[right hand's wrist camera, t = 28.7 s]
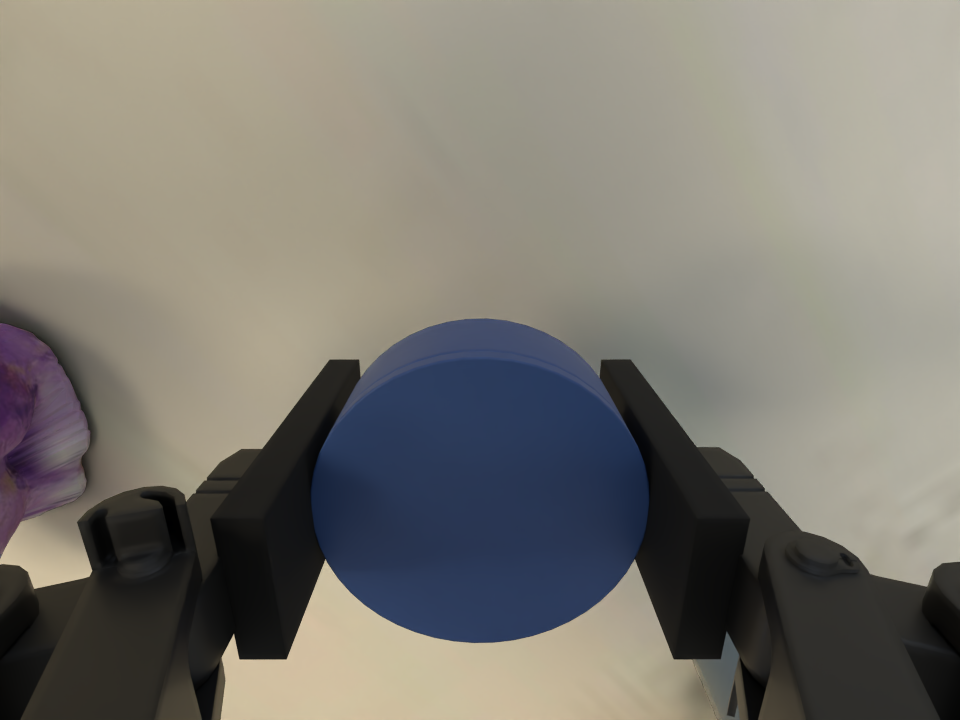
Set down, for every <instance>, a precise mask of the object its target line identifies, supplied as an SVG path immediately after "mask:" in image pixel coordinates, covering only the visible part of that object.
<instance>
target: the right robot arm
mask: <svg viewBox="0 0 960 720" xmlns="http://www.w3.org/2000/svg"><path fill="white" fill-rule="evenodd" d="M360 378H361V377H360V365H359V360H329V361H328V363H327V364H326V365H325V367H324V368H323V369H322V371H321V372H320V373H319V375H318V376H317V377H316V379H315V380H314V381H313V382H312V384H311V385H310V386H309V388H308V389H307V390H306V392H305V393H304V394H303V396H302V397H301V398H300V400H299V401H298V402H297V404H296V405H295V406H294V408H293V409H292V410H291V412H290V413H289V414H288V416H287V417H286V418H285V420H284V421H283V422H282V424H281V425H280V426H279V428H278V429H277V430H276V432H275V433H274V434H273V436H272V437H271V438H270V440H269V441H268V442H267V444H266V445H265V446H264V448H263V449H241V450H239V451H238V452H236V453H234V454H233V455H231V456H230V457H228V458H226V459H225V460H223V461H222V462H220V463H219V464H218V466H217V467H216V468H215V469H214V470H213V471H212V472H211V474H210V475H209V476H208V477H207V481H204V482H203V483H202V484H201V485H200V486H199V488H198V489H197V490H196V494H193V495H192V496H191V497H190V498H189V499H188V500H187V502H186V500H185V495H184V494H183V493H181V492H180V491H179V490H178V489H176V488H171V487H165V486H154V487H143V488H138V489H134V490H130V491H126V492H123V493H120V494H118V495H116V496H113V497H111V498H108V499H106V500H104V501H102V502H101V503H99V504H97V505H96V506H94V507H93V508H91V509H90V510H88V511H87V512H86V513H85V514H84V515H83V516H82V517H81V519H80V520H79V521H78V522H77V523H78V526H79V530H80V533H81V536H82V539H83V542H84V545H85V549H86V552H87V555H88V558H89V561H90V564H91V568H92V573H91V575H90V577H87V578H84V579H79V580H75V581H70V582H65V583H61V584H56V585H51V586H46V587H42V588H37V589H34V588H33V585H32V583H31V580H30V577H29V574H28V572H27V571H25V570H24V569H23V568H21V567H20V566H16V565H5V564H2V565H0V720H220V719H221V711H222V703H223V695H224V687H225V674H224V667H223V663H222V658H221V657H222V655H223V653H224V651H225V650H226V648H227V646H228V644H229V642H230V640H231V638H232V636H233V634H234V635H235V640H236V645H237V649H238V654H239V659H287V657H288V654H289V652H290V649H291V646H292V644H293V641H294V639H295V636H296V633H297V631H298V628H299V626H300V623H301V621H302V618H303V615H304V613H305V610H306V608H307V605H308V603H309V600H310V597H311V595H312V592H313V590H314V587H315V584H316V582H317V579H318V577H319V574H320V572H321V569H322V566H323V564H324V561H325V557H324V555H323V552H322V550H321V548H320V546H319V543H318V540H317V537H316V534H315V529H314V522H313V514H312V506H311V484H312V478H313V471H314V468H315V465H316V462H317V459H318V456H319V453H320V451H321V449H322V447H323V445H324V443H325V441H326V439H327V437H328V435H329V433H330V431H331V429H332V428H333V426H334V424H335V422H336V420H337V418H338V417H339V415H340V413H341V411H342V409H343V408H344V406H345V404H346V402H347V400H348V399H349V397H350V395H351V393H352V391H353V390H354V388H355V386H356V384H357V383H358V381H359V380H360ZM600 379H601V381H602V383H603V384H604V386H605V388H606V390H607V391H608V393H609V395H610V397H611V399H612V400H613V402H614V404H615V406H616V408H617V409H618V411H619V413H620V415H621V417H622V418H623V420H624V422H625V424H626V426H627V428H628V429H629V431H630V433H631V435H632V437H633V438H634V440H635V442H636V444H637V446H638V448H639V451H640V453H641V456H642V459H643V461H644V464H645V468H646V472H647V477H648V482H649V495H650V501H649V509H648V517H647V524H646V531H645V534H644V538H643V541H642V544H641V546H640V548H639V551H638V553H637V555H636V557H635V560H636V563H637V566H638V568H639V571H640V573H641V576H642V578H643V581H644V584H645V586H646V589H647V591H648V594H649V596H650V599H651V602H652V604H653V607H654V609H655V612H656V615H657V617H658V620H659V622H660V625H661V627H662V630H663V633H664V635H665V638H666V640H667V643H668V645H669V648H670V651H671V653H672V656H673V658H674V659H721V656H722V651H723V646H724V642H725V637H726V632H727V633H728V635H729V636H730V638H731V640H732V642H733V644H734V646H735V648H736V650H737V652H738V654H739V658H738V663H737V667H736V672H735V676H734V680H733V685H732V689H731V694H730V698H729V703H728V710H727V715H728V716H732V717H735V713H736V709H737V705H738V709H739V717H740V720H960V562H953V563H942V564H941V565H940V566H938V567H937V568H935V569H934V570H933V573H932V576H931V578H930V581H929V584H928V587H925V586H921V585H916V584H911V583H907V582H902V581H897V580H892V579H888V578H883V577H878V576H875V575H871V574H869V572H868V570H867V569H866V567H865V566H864V565H863V563H862V562H861V561H860V560H859V558H858V557H856V556H855V555H854V554H852V553H851V552H850V551H848V550H847V549H846V548H844V547H843V546H841V545H839V544H837V543H835V542H833V541H831V540H829V539H827V538H824V537H821V536H818V535H814V534H811V533H807V532H802V531H801V530H800V529H799V527H798V526H797V525H796V524H795V523H794V522H793V521H792V519H791V518H790V517H789V516H788V515H787V514H786V512H785V511H784V510H783V509H782V508H781V507H780V506H779V504H778V503H777V502H776V501H775V500H774V499H773V497H772V496H771V495H770V494H769V493H768V492H765V488H764V487H763V486H762V485H761V484H760V482H759V481H758V480H757V479H754V476H753V474H752V473H751V472H750V471H749V470H748V469H747V467H746V466H745V465H744V464H743V463H742V462H741V461H740V460H739V459H737V458H736V457H734V456H732V455H731V454H729V453H727V452H726V451H724V450H723V449H721V448H719V447H696V446H695V444H694V443H693V442H692V440H691V439H690V438H689V436H688V435H687V434H686V432H685V431H684V430H683V428H682V427H681V426H680V424H679V423H678V422H677V420H676V419H675V418H674V417H673V415H672V414H671V413H670V411H669V410H668V409H667V407H666V406H665V405H664V403H663V402H662V401H661V399H660V398H659V397H658V395H657V394H656V393H655V391H654V390H653V389H652V387H651V386H650V385H649V383H648V382H647V381H646V379H645V378H644V377H643V375H642V374H641V373H640V371H639V370H638V369H637V367H636V366H635V365H634V363H633V362H632V361H631V360H601V369H600Z"/></svg>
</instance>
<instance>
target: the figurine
mask: <svg viewBox="0 0 960 720" xmlns="http://www.w3.org/2000/svg"><path fill="white" fill-rule="evenodd" d="M89 443H90V431H89V430H88V424H87V420H86V417H85V414H84V412H83V411H82V410H81V406H80V402H79V400H78V399H77V397H76V394H75V392H74V389H73V387H72V384H71V382H70V380H69V378H68V377H67V376H66V374H65V372H64V370H63V368H62V366H61V365H60V364H58V359H57V358H56V356H55V355H54V353H53V352H52V350H51V349H50V347H49V346H47V345H46V344H45V343H44V342H42V341H40V340H39V339H38V338H37V337H36V336H35V335H34V334H33V333H32V332H29V331H26V330H23V329H20V328H17V327H14V326H11V325H8V324H3V323H0V558H1V556H2V554H3V551H4V549H5V547H6V546H7V544H8V542H9V540H10V538H11V537H12V535H13V534H14V532H15V531H16V529H17V527H18V525H19V523H20V522H21V521H24V520H28V519H31V518H34V517H36V516H40V515H41V514H43V513H44V512H46V511H48V510H51V509H54V508H56V507H59V506H62V505H64V504H67V503H69V502H73V501H75V500H76V499H77V498H78V497H79V496H81V495H82V493H83V492H84V491H85V488H86V482H87V480H86V478H85V475H84V468H83V466H82V464H81V458H82V456H83V455H84V453H85V452H86V451H87V449H88V447H89Z"/></svg>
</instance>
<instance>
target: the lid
mask: <svg viewBox="0 0 960 720" xmlns="http://www.w3.org/2000/svg"><path fill="white" fill-rule="evenodd" d="M649 501H650V495H649V482H648V477H647V472H646V468H645V464H644V461H643V459H642V456H641V453H640V451H639V448H638V446H637V444H636V442H635V440H634V438H633V437H632V435H631V433H630V431H629V429H628V428H627V426H626V424H625V422H624V420H623V418H622V417H621V415H620V413H619V411H618V409H617V408H616V406H615V404H614V402H613V400H612V399H611V397H610V395H609V393H608V391H607V390H606V388H605V386H604V384H603V383H602V381H601V379H600V378H599V376H598V375H597V374H596V373H595V371H594V370H593V369H592V368H591V366H590V365H589V364H588V363H587V362H586V361H585V360H584V359H583V358H582V357H581V356H580V355H579V354H578V353H576V352H575V351H574V350H572V349H571V348H570V347H568V346H567V345H566V344H564V343H563V342H561V341H560V340H558V339H556V338H554V337H552V336H550V335H548V334H547V333H545V332H542V331H540V330H537V329H534V328H532V327H529V326H526V325H523V324H518V323H514V322H510V321H505V320H495V319H464V320H457V321H450V322H445V323H442V324H438V325H435V326H431V327H428V328H425V329H423V330H421V331H418V332H416V333H414V334H411V335H409V336H408V337H406V338H404V339H403V340H401V341H399V342H398V343H396V344H394V345H393V346H392V347H390V348H389V349H388V350H387V351H385V352H384V353H383V354H382V355H380V356H379V357H378V358H377V359H376V360H375V361H374V362H373V363H372V365H371V366H370V367H369V368H368V369H367V370H366V371H365V373H364V374H363V376H362V377H361V378H360V380H359V381H358V383H357V384H356V386H355V388H354V390H353V391H352V393H351V395H350V397H349V399H348V400H347V402H346V404H345V406H344V408H343V409H342V411H341V413H340V415H339V417H338V418H337V420H336V422H335V424H334V426H333V428H332V429H331V431H330V433H329V435H328V437H327V439H326V441H325V443H324V445H323V447H322V449H321V451H320V453H319V456H318V459H317V462H316V465H315V468H314V471H313V478H312V484H311V506H312V514H313V522H314V529H315V534H316V537H317V540H318V543H319V546H320V548H321V550H322V552H323V555H324V557H325V559H326V561H327V563H328V564H329V566H330V567H331V569H332V570H333V572H334V573H335V575H336V576H337V578H338V579H339V580H340V581H341V582H342V583H343V584H344V586H345V587H346V588H347V589H348V590H349V591H350V592H351V593H352V594H353V595H354V596H355V597H356V598H357V599H359V600H360V601H361V602H362V603H363V604H364V605H366V606H367V607H368V608H370V609H371V610H373V611H374V612H376V613H377V614H379V615H380V616H382V617H384V618H386V619H387V620H389V621H391V622H393V623H395V624H397V625H399V626H401V627H404V628H406V629H409V630H411V631H414V632H417V633H420V634H423V635H427V636H430V637H434V638H439V639H444V640H450V641H457V642H469V643H493V642H502V641H511V640H516V639H521V638H526V637H530V636H534V635H537V634H540V633H543V632H546V631H549V630H552V629H554V628H556V627H559V626H561V625H563V624H565V623H567V622H570V621H571V620H573V619H575V618H576V617H578V616H580V615H581V614H583V613H585V612H586V611H588V610H589V609H590V608H592V607H593V606H594V605H596V604H597V603H598V602H600V601H601V600H602V599H603V598H604V597H605V596H606V595H607V594H608V593H609V592H610V591H611V590H612V589H613V588H614V587H615V586H616V585H617V584H618V582H619V581H620V580H621V579H622V577H623V576H624V575H625V574H626V572H627V571H628V569H629V567H630V566H631V564H632V562H633V561H634V559H635V557H636V555H637V553H638V551H639V548H640V546H641V544H642V541H643V538H644V534H645V531H646V524H647V517H648V509H649Z"/></svg>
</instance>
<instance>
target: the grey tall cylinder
mask: <svg viewBox="0 0 960 720" xmlns="http://www.w3.org/2000/svg"><path fill="white" fill-rule="evenodd" d="M738 658H739V654H738V652H737V650H736V648H735V646H734V644H733V642H732V640H731V638H730V636H729V635H728V633H727V632H726V637H725V642H724V646H723V651H722V656H721V659H693V663H694V665H695V668H696V670H697V673H698V675H699V677H700V680H701V682H702V684H703V687H704V689H705V692H706V694H707V696H708V699H709V701H710V703H711V706H712V708H713V710H714V713H715V715H716V718H717V720H740V717H739V709H738V705H737V709H736V713H735V717H732V716H728V715H727V710H728V703H729V698H730V694H731V689H732V685H733V680H734V676H735V672H736V667H737V663H738Z"/></svg>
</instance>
